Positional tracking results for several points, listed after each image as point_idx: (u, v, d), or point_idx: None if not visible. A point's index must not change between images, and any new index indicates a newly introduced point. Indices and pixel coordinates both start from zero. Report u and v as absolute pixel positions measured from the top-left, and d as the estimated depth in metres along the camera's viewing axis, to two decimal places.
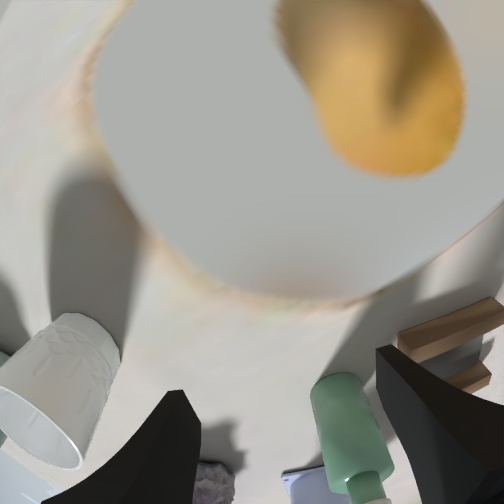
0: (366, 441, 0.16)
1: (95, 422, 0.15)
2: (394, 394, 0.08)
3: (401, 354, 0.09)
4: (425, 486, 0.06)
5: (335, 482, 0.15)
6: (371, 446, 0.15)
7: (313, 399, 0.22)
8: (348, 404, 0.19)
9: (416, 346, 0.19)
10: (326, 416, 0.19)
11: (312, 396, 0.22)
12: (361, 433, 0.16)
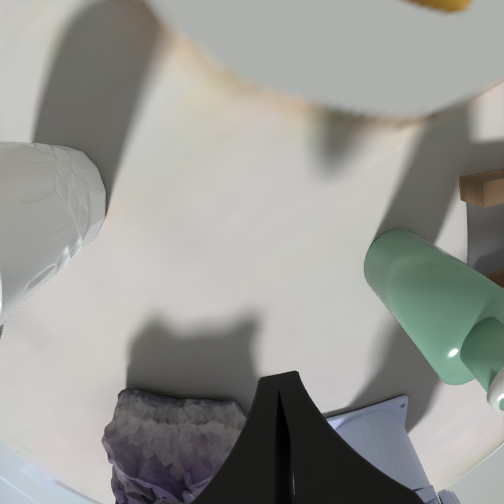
0: (474, 273, 0.10)
1: (45, 246, 0.10)
2: None
3: (296, 384, 0.09)
4: None
5: (448, 344, 0.09)
6: (484, 277, 0.10)
7: (371, 264, 0.17)
8: (427, 246, 0.14)
9: (486, 180, 0.14)
10: (401, 265, 0.14)
11: (369, 261, 0.17)
12: (462, 266, 0.11)
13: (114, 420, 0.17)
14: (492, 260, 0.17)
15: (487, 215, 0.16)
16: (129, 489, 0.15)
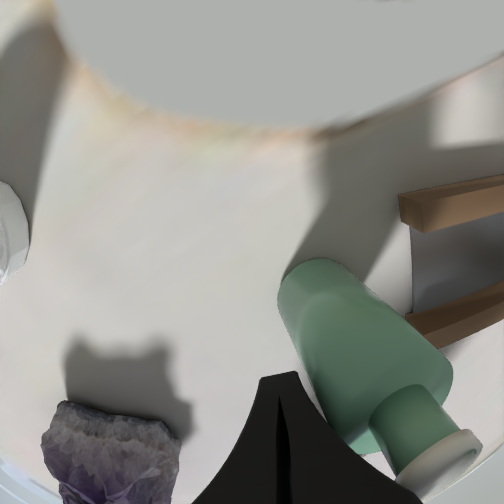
0: (393, 326, 0.09)
1: None
2: None
3: (295, 384, 0.09)
4: None
5: (347, 420, 0.08)
6: (406, 332, 0.09)
7: (282, 302, 0.15)
8: (342, 285, 0.12)
9: (428, 199, 0.13)
10: (308, 309, 0.12)
11: (280, 298, 0.15)
12: (379, 316, 0.10)
13: (50, 429, 0.16)
14: (446, 288, 0.16)
15: (438, 237, 0.15)
16: (65, 492, 0.14)
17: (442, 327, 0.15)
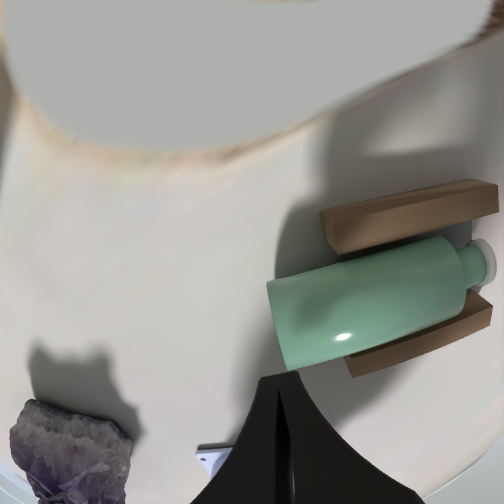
0: None
1: None
2: None
3: (296, 383, 0.09)
4: None
5: None
6: (412, 242, 0.14)
7: (301, 325, 0.12)
8: (341, 263, 0.14)
9: (344, 218, 0.13)
10: (359, 283, 0.12)
11: (292, 327, 0.12)
12: (395, 247, 0.14)
13: (17, 424, 0.16)
14: None
15: None
16: (30, 481, 0.14)
17: (374, 350, 0.15)
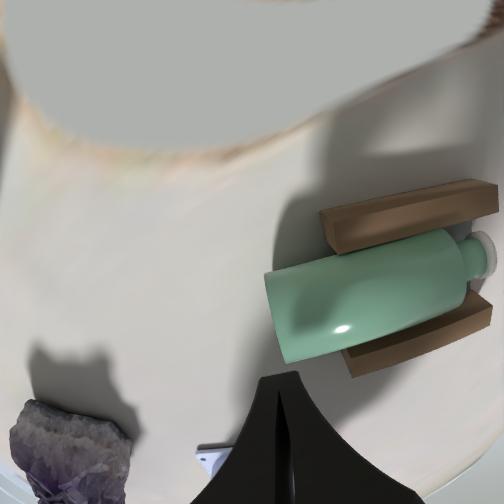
0: None
1: None
2: None
3: (296, 383, 0.09)
4: None
5: None
6: None
7: (296, 306, 0.12)
8: None
9: (344, 218, 0.13)
10: (354, 265, 0.13)
11: (287, 308, 0.12)
12: None
13: (17, 424, 0.16)
14: None
15: None
16: (30, 481, 0.14)
17: (374, 350, 0.15)
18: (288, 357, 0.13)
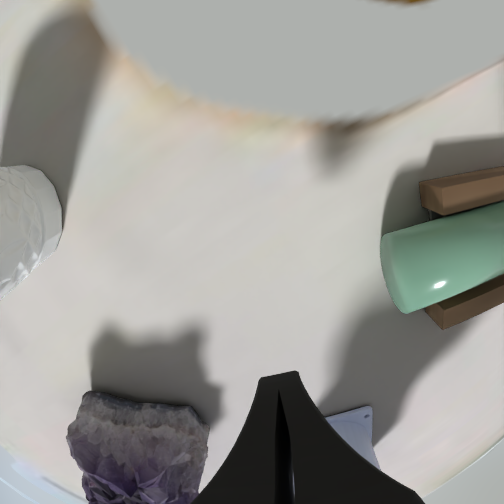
0: None
1: None
2: None
3: (296, 383, 0.09)
4: None
5: None
6: None
7: (427, 258, 0.13)
8: (439, 218, 0.15)
9: (447, 185, 0.14)
10: (460, 226, 0.13)
11: (420, 260, 0.13)
12: (473, 208, 0.15)
13: (76, 420, 0.17)
14: None
15: None
16: (91, 484, 0.15)
17: (460, 303, 0.16)
18: (416, 305, 0.13)
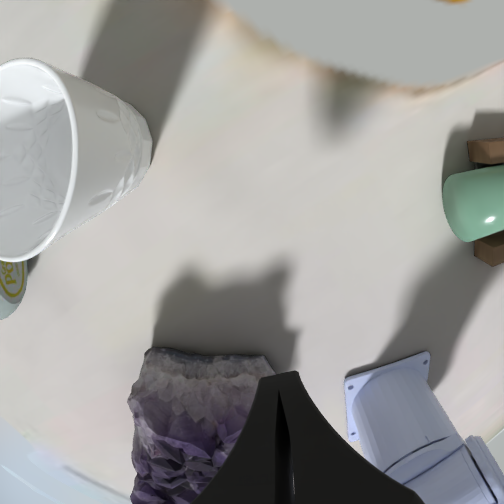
0: None
1: (111, 165, 0.11)
2: None
3: (296, 383, 0.09)
4: None
5: None
6: None
7: (486, 189, 0.14)
8: None
9: (491, 141, 0.15)
10: None
11: (482, 190, 0.14)
12: None
13: (142, 377, 0.18)
14: None
15: None
16: (155, 453, 0.16)
17: None
18: (481, 229, 0.14)
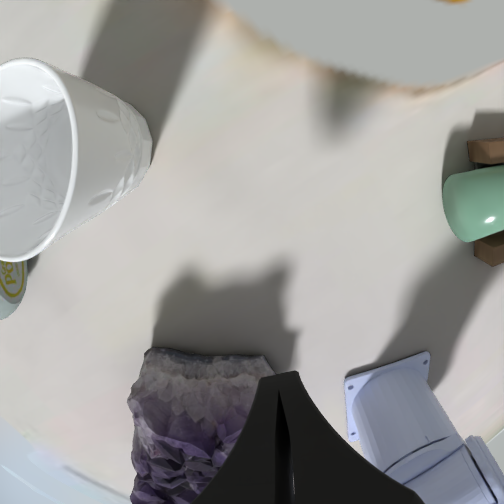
0: None
1: (111, 165, 0.11)
2: None
3: (296, 383, 0.09)
4: None
5: None
6: None
7: (486, 190, 0.14)
8: None
9: (491, 141, 0.15)
10: None
11: (482, 190, 0.14)
12: None
13: (141, 377, 0.18)
14: None
15: None
16: (155, 453, 0.16)
17: None
18: (481, 229, 0.14)
